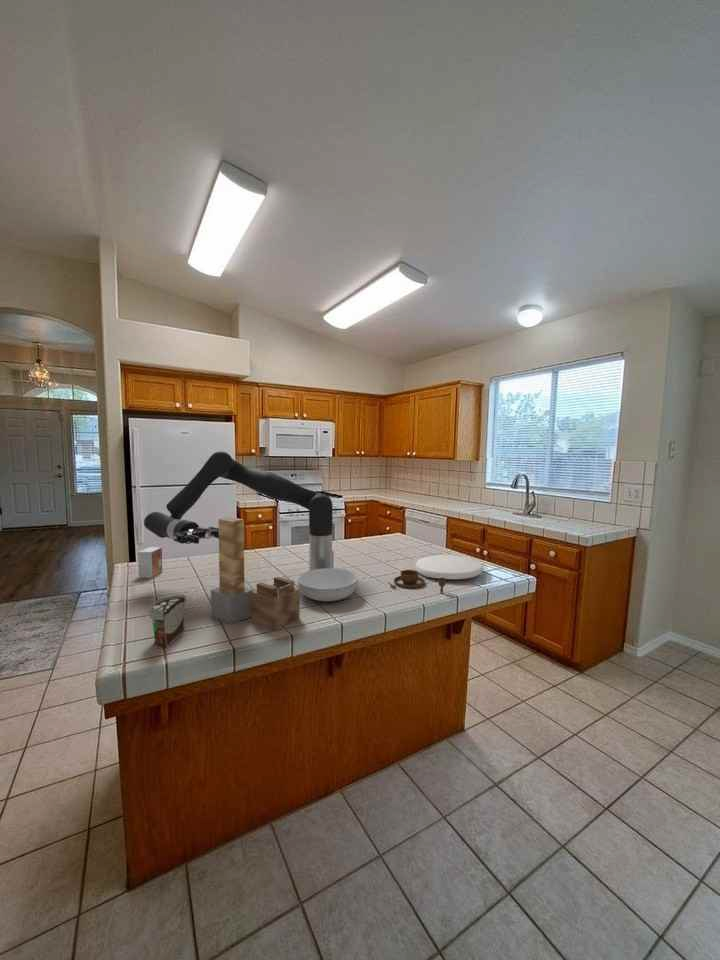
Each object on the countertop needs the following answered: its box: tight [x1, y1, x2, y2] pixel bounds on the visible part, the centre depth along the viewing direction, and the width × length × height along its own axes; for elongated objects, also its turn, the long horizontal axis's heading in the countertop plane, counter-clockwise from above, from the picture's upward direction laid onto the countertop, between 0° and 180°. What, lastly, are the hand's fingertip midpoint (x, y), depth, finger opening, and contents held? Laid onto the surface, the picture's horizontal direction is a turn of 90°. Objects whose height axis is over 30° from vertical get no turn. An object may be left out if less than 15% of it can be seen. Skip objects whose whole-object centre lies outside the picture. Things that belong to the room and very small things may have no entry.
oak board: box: [218, 516, 245, 594], centre depth 118 cm, size 4×7×22 cm, turn 53°
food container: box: [148, 594, 187, 648], centre depth 104 cm, size 12×6×10 cm, turn 178°
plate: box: [415, 554, 484, 580], centre depth 163 cm, size 28×6×27 cm
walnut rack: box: [251, 576, 300, 631], centre depth 116 cm, size 10×10×12 cm
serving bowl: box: [297, 568, 359, 602], centre depth 136 cm, size 21×21×7 cm
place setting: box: [387, 569, 446, 595], centre depth 146 cm, size 18×20×6 cm
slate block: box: [210, 586, 254, 625], centre depth 119 cm, size 8×10×8 cm
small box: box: [137, 546, 163, 579], centre depth 156 cm, size 8×6×10 cm
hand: (210, 537), depth 124 cm, fingers open, 8 cm apart
